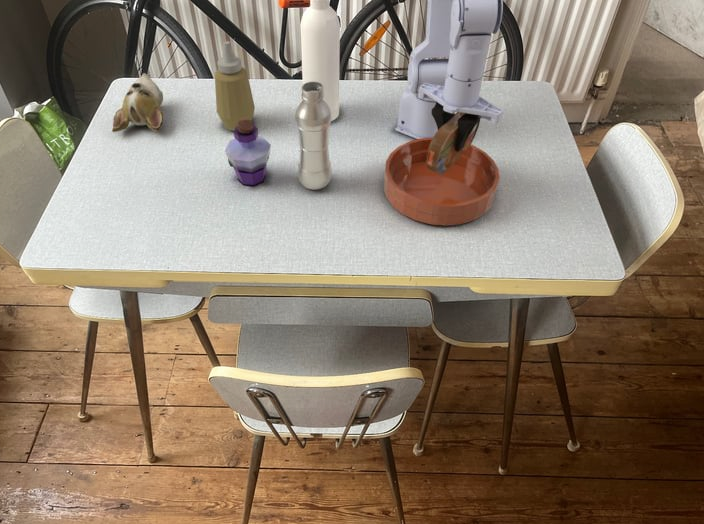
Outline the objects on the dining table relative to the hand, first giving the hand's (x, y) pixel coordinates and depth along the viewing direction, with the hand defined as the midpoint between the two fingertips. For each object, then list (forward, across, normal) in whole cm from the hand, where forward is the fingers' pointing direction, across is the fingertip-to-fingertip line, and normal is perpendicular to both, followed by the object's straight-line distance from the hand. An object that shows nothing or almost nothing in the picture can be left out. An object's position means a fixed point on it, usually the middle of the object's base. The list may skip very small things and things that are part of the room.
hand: (451, 145), depth 101 cm
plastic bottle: (+10, -21, -13) cm, 26 cm away
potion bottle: (+10, -32, -19) cm, 38 cm away
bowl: (+10, -1, -1) cm, 10 cm away
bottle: (+10, -35, +7) cm, 37 cm away
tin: (+3, 0, 0) cm, 3 cm away
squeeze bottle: (+10, -47, -7) cm, 48 cm away
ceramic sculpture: (+10, -64, -18) cm, 67 cm away
